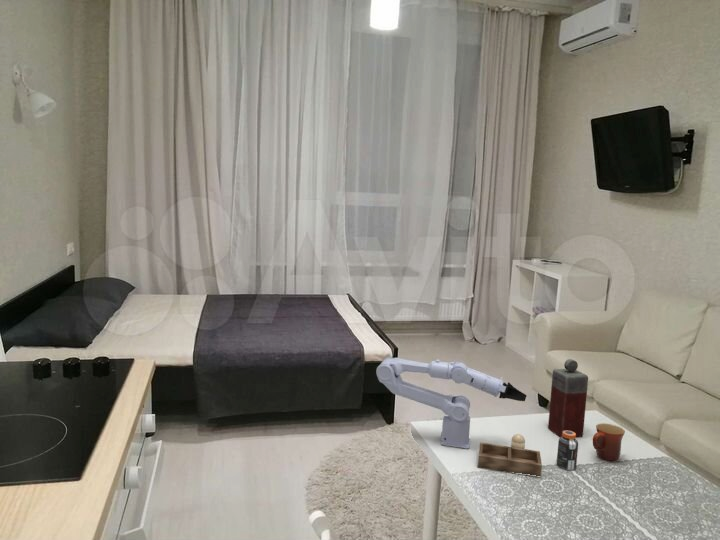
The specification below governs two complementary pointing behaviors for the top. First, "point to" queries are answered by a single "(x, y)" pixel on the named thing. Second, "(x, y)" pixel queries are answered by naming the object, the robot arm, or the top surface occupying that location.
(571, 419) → the red grey square bottle
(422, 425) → the top surface
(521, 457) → the walnut holder
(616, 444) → the mug
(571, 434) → the pill bottle
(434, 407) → the robot arm
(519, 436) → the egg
